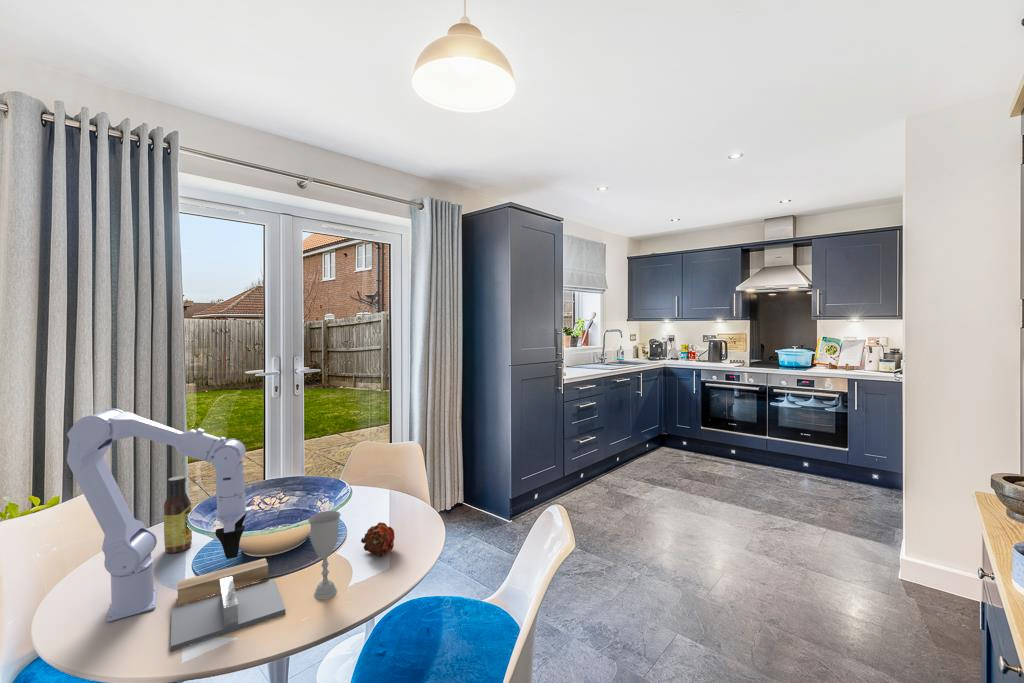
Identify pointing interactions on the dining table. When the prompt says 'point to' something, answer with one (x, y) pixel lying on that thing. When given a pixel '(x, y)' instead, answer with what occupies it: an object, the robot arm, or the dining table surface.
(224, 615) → the steel ridge
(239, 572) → the oak bar
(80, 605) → the dining table surface
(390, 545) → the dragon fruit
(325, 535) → the chalice
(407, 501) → the dining table surface
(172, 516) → the sauce bottle
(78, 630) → the dining table surface
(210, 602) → the slate base plate
